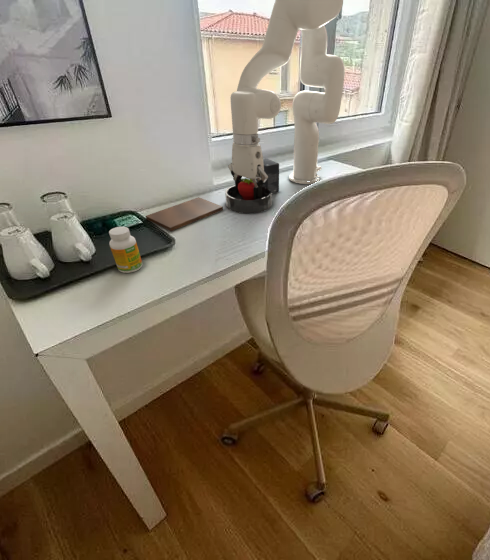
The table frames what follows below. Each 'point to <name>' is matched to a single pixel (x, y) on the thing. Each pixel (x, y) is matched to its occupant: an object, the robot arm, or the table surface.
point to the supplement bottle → (124, 250)
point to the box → (271, 175)
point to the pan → (248, 201)
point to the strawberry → (246, 189)
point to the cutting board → (184, 213)
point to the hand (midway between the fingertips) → (248, 194)
